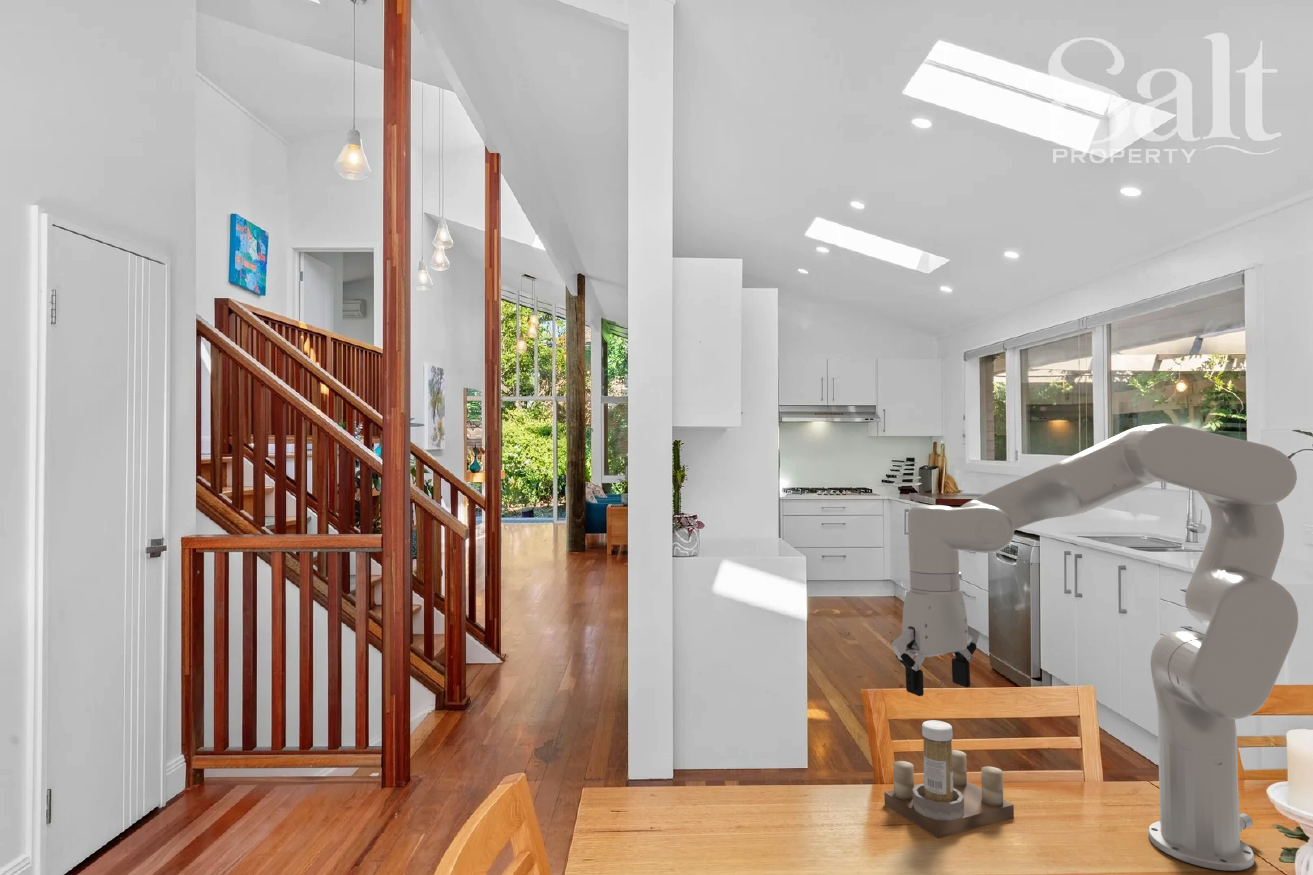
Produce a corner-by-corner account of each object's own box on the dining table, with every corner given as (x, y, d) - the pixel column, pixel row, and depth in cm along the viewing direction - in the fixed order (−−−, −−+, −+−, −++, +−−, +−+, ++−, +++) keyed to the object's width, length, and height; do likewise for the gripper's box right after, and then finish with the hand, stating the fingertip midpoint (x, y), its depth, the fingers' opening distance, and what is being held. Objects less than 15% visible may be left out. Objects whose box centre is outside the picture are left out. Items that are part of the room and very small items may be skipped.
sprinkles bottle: (960, 810, 117) (958, 725, 117) (942, 818, 114) (940, 731, 114) (935, 799, 120) (933, 717, 121) (917, 807, 118) (915, 722, 118)
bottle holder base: (956, 786, 130) (956, 746, 130) (1013, 817, 118) (1012, 773, 119) (884, 804, 123) (883, 762, 123) (937, 837, 112) (937, 791, 112)
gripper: (957, 574, 125) (961, 675, 125) (876, 583, 118) (879, 690, 118) (993, 580, 118) (997, 687, 118) (909, 590, 111) (913, 704, 111)
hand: (938, 689), depth 118 cm, fingers open, 9 cm apart
